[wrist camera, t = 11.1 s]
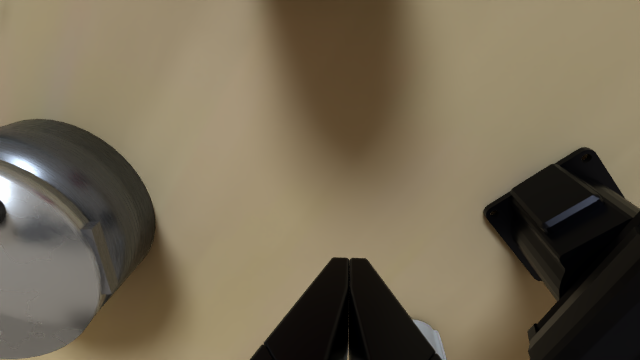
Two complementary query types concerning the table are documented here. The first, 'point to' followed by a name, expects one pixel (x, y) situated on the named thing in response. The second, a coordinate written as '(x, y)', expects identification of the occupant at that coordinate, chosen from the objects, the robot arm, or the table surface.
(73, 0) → the table surface
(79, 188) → the pressure cooker pot
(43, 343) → the cooker lid
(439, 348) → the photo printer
